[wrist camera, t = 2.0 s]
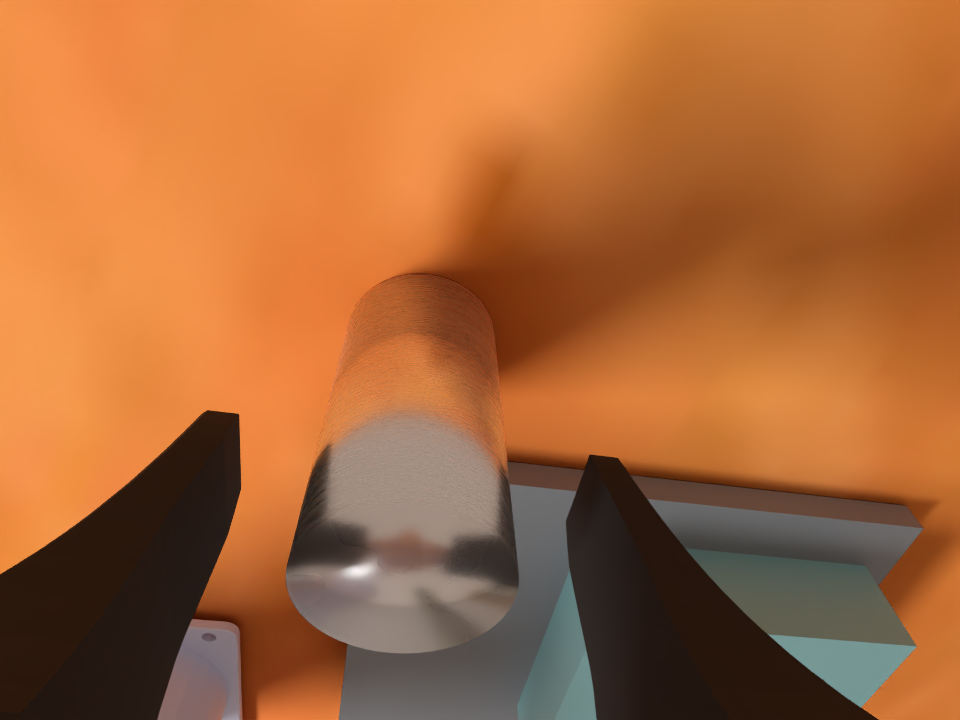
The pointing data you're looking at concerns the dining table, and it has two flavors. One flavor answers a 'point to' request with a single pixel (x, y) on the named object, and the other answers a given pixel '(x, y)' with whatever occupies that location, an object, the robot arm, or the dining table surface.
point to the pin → (409, 478)
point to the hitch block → (722, 555)
